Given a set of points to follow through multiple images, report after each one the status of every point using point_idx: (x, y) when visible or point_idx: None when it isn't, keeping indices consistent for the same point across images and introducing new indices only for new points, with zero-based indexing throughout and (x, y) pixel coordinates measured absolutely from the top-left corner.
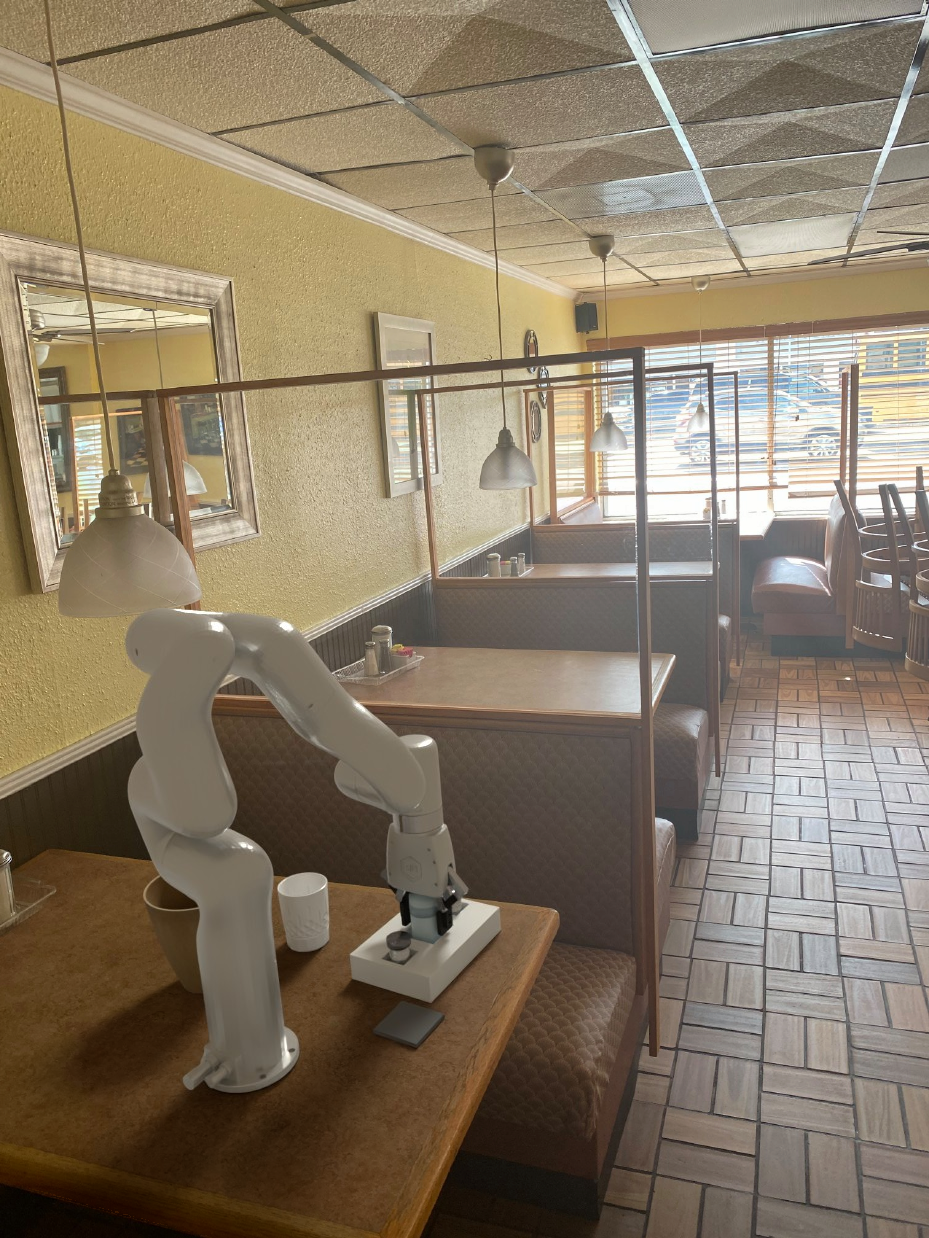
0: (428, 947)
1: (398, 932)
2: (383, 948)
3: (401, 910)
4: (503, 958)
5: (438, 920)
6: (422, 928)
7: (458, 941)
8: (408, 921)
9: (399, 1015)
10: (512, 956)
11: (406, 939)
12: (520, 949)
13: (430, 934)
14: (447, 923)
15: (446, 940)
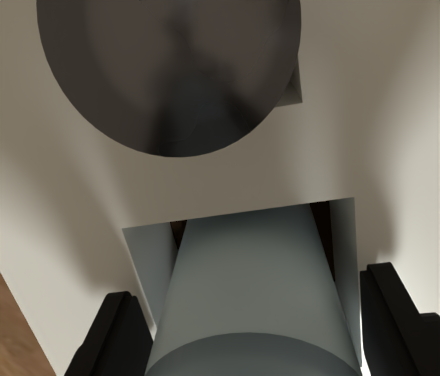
0: (116, 192)
1: (237, 106)
2: (361, 14)
3: (428, 349)
4: (24, 323)
5: (79, 371)
6: (204, 281)
7: (45, 302)
8: (365, 301)
9: None
10: (13, 341)
11: (75, 58)
12: (27, 373)
13: (176, 275)
14: (66, 373)
15: (96, 282)
